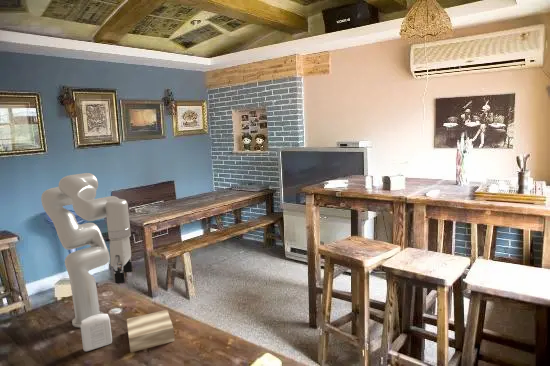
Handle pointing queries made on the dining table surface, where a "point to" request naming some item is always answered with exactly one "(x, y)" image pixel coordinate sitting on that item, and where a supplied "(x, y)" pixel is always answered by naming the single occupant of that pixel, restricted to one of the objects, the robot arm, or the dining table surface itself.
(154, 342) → the birch block
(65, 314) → the dining table surface
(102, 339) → the photo printer
